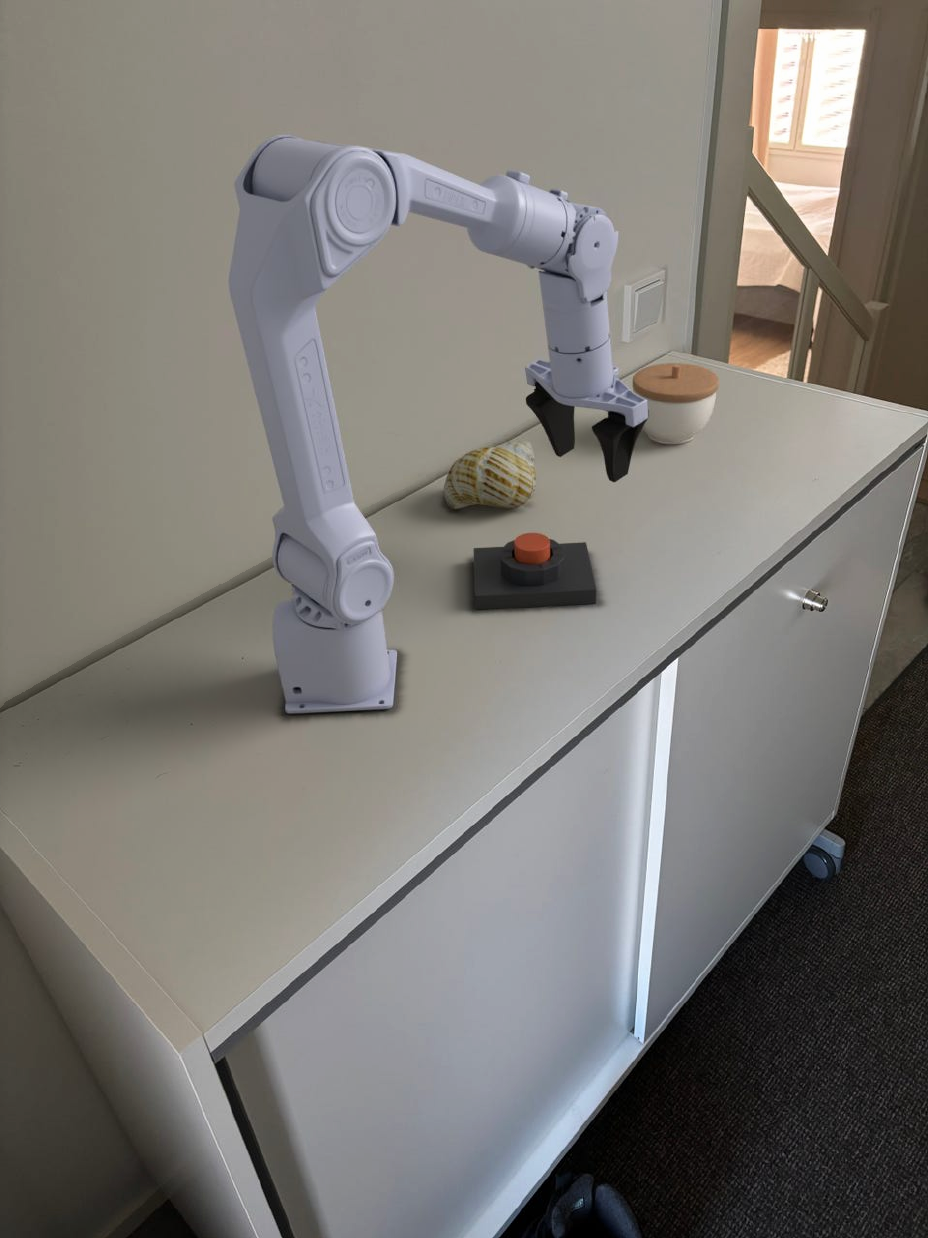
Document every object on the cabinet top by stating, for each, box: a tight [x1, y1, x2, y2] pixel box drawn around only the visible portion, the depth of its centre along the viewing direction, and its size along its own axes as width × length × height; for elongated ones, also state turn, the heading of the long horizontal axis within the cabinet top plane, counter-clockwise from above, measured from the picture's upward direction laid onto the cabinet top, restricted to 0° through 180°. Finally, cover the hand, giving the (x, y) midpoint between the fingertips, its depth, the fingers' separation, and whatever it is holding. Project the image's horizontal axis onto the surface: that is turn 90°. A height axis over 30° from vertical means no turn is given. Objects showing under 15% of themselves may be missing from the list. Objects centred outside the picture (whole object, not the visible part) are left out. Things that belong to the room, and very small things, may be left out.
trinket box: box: [632, 362, 720, 445], centre depth 119 cm, size 11×11×9 cm
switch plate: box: [473, 538, 597, 611], centre depth 94 cm, size 12×9×4 cm
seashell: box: [443, 440, 537, 510], centre depth 108 cm, size 10×10×10 cm
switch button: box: [514, 532, 550, 565], centre depth 93 cm, size 4×4×2 cm
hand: (591, 464), depth 93 cm, fingers open, 7 cm apart
